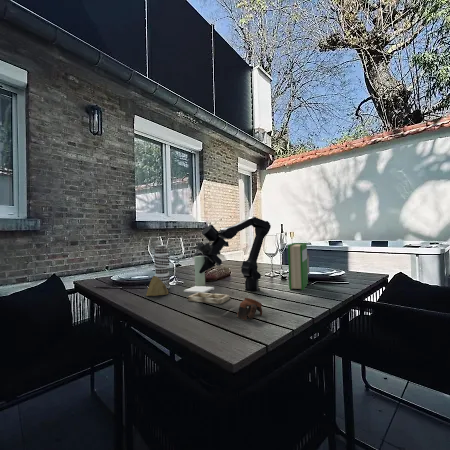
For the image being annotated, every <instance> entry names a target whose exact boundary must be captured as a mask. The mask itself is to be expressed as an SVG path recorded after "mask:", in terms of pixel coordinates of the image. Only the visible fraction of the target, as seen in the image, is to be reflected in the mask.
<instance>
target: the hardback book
mask: <svg viewBox="0 0 450 450" xmlns="http://www.w3.org/2000/svg"><path fill="white" fill-rule="evenodd" d="M307 244H308V243H307V242H293V243H289V244H288V245H287V255H288V257H287V259H288V261H287V262H288V286H289V287H288V289H290V290H289V291H291V290H293V289H295V290H297V289H298V290H301V291H302V290H304V291H305V289H306V288H305V287H307V286H308V285H309V280H308V271H307V253H308V247H307V246H308V245H307ZM307 284H308V285H307Z"/></svg>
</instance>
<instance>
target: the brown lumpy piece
mask: <svg viewBox="0 0 450 450" xmlns="http://www.w3.org/2000/svg"><path fill="white" fill-rule="evenodd" d="M262 306H263V304H262V303H261V302H259V301H258V300H255V299H253V298H250V297H249V298H248V297H244V300H242V301H241V302H240V304H239V307H238V311H237V313H236V317H237V318H239V319H240V320H244V321H247V318H249V319H254V318H255V316H256V313H257V312H259V316H260V317H261V316H263V308H262Z"/></svg>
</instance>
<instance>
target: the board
mask: <svg viewBox="0 0 450 450" xmlns="http://www.w3.org/2000/svg"><path fill="white" fill-rule="evenodd" d="M214 290H215V286H206V285H205V286H195V285H194V286H191V287H190V288H189V287H188V288H186V289H184V290H183V292H184V293H189V294H190V293H193V294H195V293H198V292H201V293H209V292H210V291H214Z"/></svg>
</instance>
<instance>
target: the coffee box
mask: <svg viewBox="0 0 450 450" xmlns="http://www.w3.org/2000/svg"><path fill="white" fill-rule="evenodd" d="M307 271H308V273H309V274H310V254H309V253H308V252H307Z"/></svg>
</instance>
